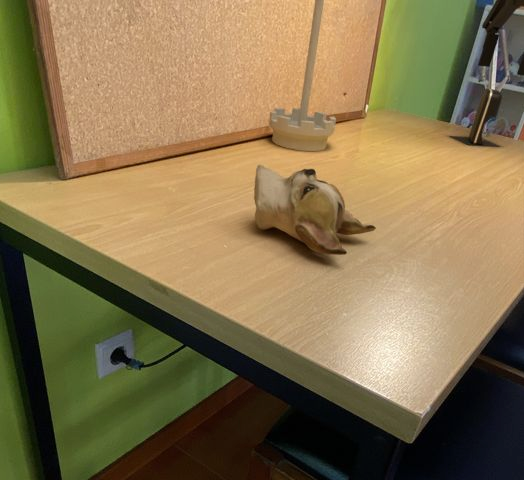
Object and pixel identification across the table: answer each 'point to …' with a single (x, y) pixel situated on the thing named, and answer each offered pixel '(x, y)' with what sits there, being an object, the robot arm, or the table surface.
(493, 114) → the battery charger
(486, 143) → the mat
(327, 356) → the table surface
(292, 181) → the ceramic sculpture
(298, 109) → the flag stand
